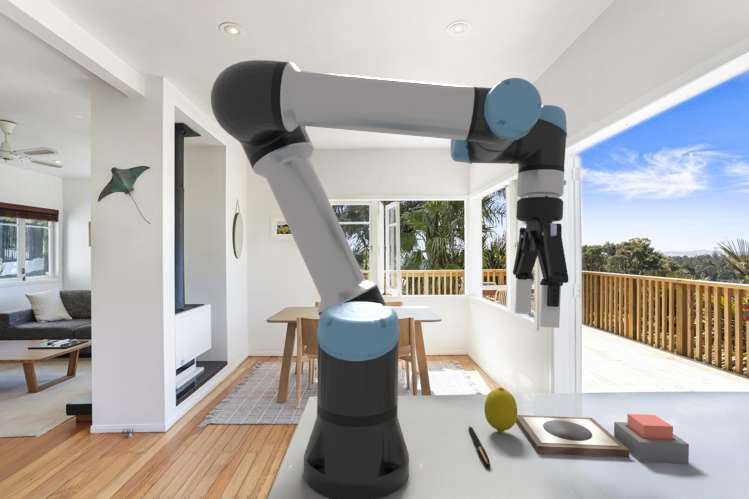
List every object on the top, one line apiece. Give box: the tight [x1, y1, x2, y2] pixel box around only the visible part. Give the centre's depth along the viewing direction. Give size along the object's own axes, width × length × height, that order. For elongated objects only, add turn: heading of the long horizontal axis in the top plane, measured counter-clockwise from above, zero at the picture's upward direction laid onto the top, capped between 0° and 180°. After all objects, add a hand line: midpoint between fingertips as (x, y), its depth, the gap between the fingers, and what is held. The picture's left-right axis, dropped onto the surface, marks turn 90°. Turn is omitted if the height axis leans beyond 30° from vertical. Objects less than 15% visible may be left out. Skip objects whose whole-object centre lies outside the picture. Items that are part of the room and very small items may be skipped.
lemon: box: [483, 386, 518, 434], centre depth 70 cm, size 6×6×8 cm
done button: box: [626, 413, 674, 440], centre depth 65 cm, size 4×4×2 cm
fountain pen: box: [467, 425, 491, 469], centre depth 65 cm, size 14×1×2 cm, turn 178°
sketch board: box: [515, 414, 630, 459], centre depth 69 cm, size 14×12×1 cm
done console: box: [613, 421, 690, 465], centre depth 65 cm, size 7×7×3 cm
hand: (534, 319), depth 70 cm, fingers open, 13 cm apart
